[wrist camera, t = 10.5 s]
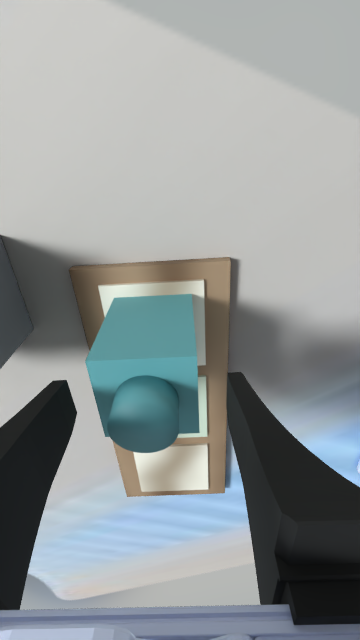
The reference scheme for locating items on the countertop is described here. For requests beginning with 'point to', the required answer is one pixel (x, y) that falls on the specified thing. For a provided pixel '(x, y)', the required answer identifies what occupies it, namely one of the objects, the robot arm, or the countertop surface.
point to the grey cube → (11, 310)
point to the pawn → (146, 371)
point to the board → (212, 363)
